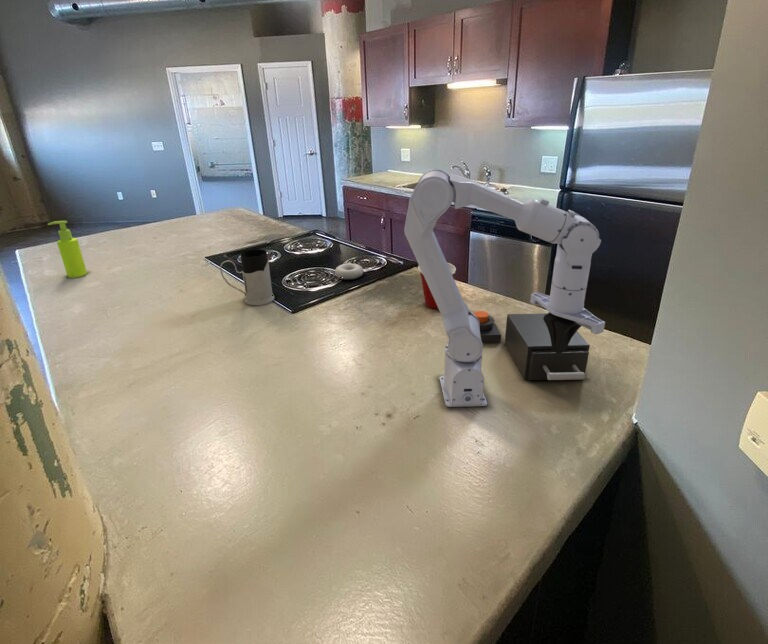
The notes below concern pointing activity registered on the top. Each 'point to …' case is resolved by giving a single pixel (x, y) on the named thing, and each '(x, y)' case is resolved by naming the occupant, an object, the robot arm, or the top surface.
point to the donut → (349, 271)
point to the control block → (489, 332)
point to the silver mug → (255, 277)
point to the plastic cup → (427, 293)
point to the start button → (481, 316)
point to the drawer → (558, 364)
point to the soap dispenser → (70, 252)
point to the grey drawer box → (532, 339)
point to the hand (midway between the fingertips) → (558, 350)
